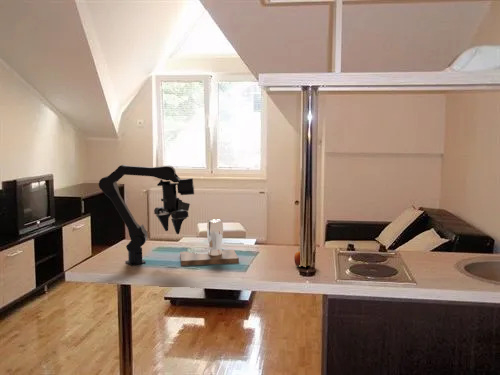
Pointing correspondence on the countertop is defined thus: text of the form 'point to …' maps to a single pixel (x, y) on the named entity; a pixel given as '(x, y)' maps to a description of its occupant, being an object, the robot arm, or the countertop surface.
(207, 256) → the walnut board
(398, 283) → the countertop surface
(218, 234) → the beer glass
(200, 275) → the countertop surface
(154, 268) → the countertop surface
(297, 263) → the fruit
